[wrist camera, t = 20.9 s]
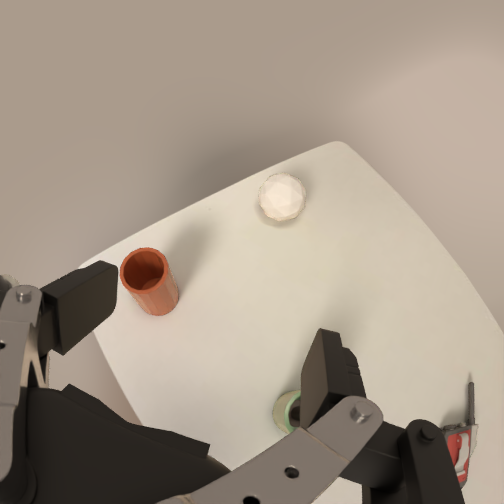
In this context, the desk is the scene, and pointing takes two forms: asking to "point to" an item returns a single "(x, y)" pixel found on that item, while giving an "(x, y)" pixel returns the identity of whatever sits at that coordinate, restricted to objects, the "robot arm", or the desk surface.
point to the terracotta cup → (149, 281)
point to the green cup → (285, 410)
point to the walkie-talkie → (462, 441)
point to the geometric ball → (282, 196)
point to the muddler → (295, 414)
